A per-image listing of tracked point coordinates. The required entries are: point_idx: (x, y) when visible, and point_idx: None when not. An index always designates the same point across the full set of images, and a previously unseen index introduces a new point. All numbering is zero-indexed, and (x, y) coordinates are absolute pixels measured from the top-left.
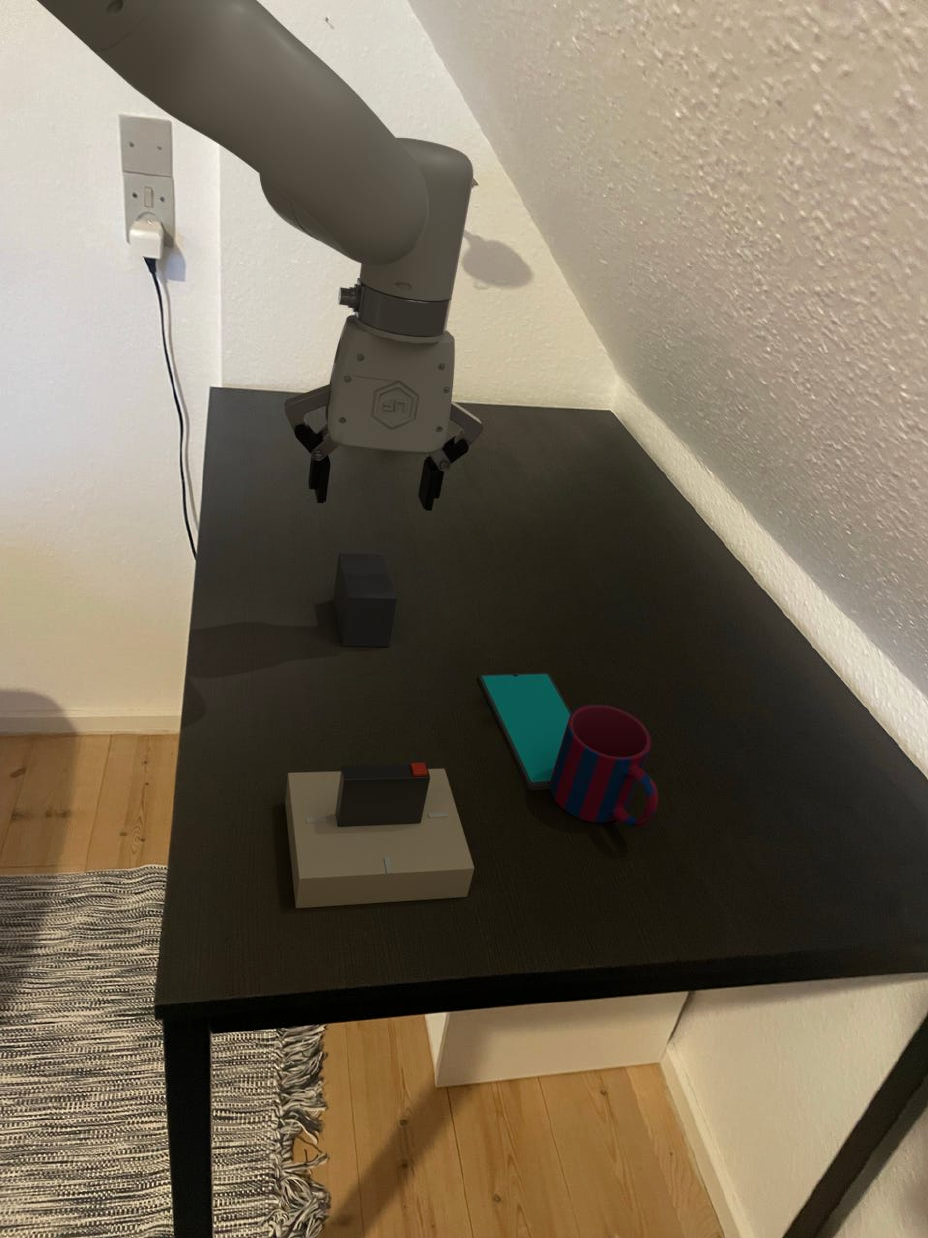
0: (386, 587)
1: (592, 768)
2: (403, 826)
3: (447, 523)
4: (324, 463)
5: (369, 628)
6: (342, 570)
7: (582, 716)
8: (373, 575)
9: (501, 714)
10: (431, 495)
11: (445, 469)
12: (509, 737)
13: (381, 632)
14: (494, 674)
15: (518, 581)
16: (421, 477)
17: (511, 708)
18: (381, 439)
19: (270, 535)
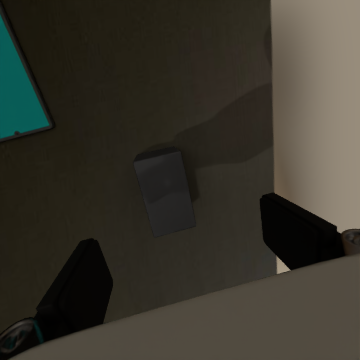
0: (145, 178)
1: None
2: None
3: None
4: (331, 226)
5: (155, 152)
6: (190, 198)
7: None
8: (160, 197)
9: (22, 67)
10: (75, 257)
11: (15, 325)
12: (8, 30)
13: (144, 154)
14: (37, 130)
15: (35, 280)
16: (104, 312)
17: (13, 79)
18: (264, 324)
19: (237, 272)
